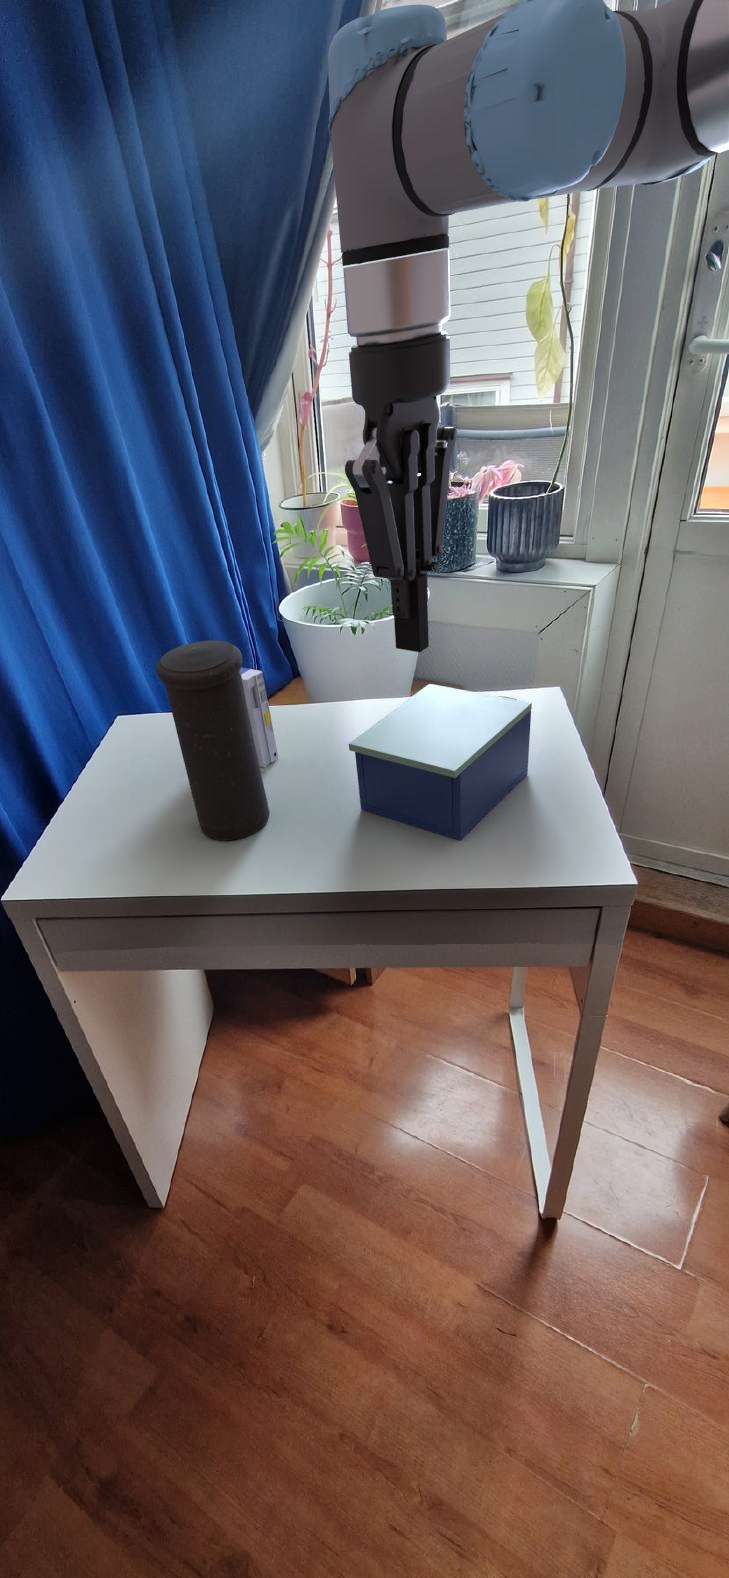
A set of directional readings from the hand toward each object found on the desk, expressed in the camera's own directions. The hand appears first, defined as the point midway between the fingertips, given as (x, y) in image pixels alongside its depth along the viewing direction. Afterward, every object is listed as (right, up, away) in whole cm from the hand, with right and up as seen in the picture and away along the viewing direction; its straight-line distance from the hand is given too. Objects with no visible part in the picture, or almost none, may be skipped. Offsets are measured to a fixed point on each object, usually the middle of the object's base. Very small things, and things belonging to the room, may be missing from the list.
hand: (412, 647), depth 71 cm
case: (+6, -11, +14) cm, 19 cm away
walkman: (-18, -5, +27) cm, 33 cm away
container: (-18, -15, +16) cm, 28 cm away
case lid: (+4, -6, +9) cm, 12 cm away
